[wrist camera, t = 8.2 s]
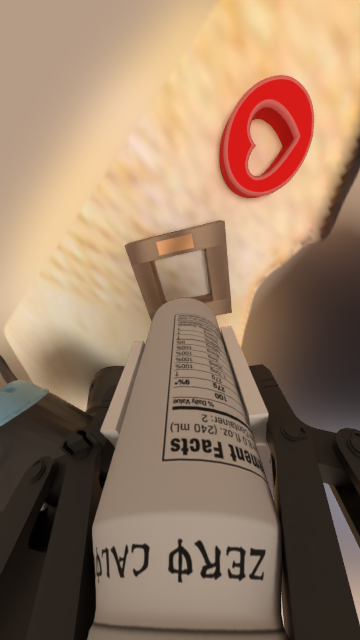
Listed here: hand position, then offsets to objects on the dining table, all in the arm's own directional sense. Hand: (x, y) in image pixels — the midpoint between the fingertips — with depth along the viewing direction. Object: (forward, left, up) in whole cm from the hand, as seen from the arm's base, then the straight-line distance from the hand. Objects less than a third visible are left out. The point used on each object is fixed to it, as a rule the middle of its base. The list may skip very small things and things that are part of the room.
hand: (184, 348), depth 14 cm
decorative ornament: (+12, +13, -19) cm, 27 cm away
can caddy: (0, 0, -19) cm, 19 cm away
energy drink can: (0, 0, -4) cm, 4 cm away
